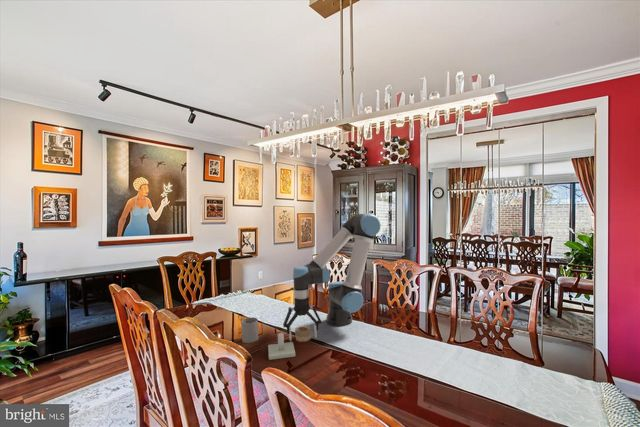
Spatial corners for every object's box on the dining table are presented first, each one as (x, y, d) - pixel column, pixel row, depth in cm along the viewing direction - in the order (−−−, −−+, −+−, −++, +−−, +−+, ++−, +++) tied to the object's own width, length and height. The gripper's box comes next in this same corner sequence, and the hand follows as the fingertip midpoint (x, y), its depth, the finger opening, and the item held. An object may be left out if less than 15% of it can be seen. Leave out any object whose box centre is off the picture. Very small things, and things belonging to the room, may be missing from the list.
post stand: (292, 345, 151) (292, 327, 151) (295, 356, 139) (294, 337, 139) (268, 348, 149) (267, 330, 149) (268, 359, 137) (268, 341, 137)
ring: (309, 334, 163) (308, 325, 162) (311, 340, 155) (311, 330, 155) (295, 336, 161) (294, 327, 161) (296, 342, 154) (296, 332, 154)
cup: (254, 343, 155) (253, 323, 155) (239, 342, 157) (238, 323, 156) (260, 336, 163) (260, 317, 163) (246, 335, 165) (245, 317, 165)
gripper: (323, 293, 164) (324, 332, 164) (277, 297, 159) (278, 338, 159) (326, 296, 156) (327, 338, 157) (277, 301, 152) (279, 344, 152)
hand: (303, 338), depth 158 cm, fingers open, 12 cm apart
